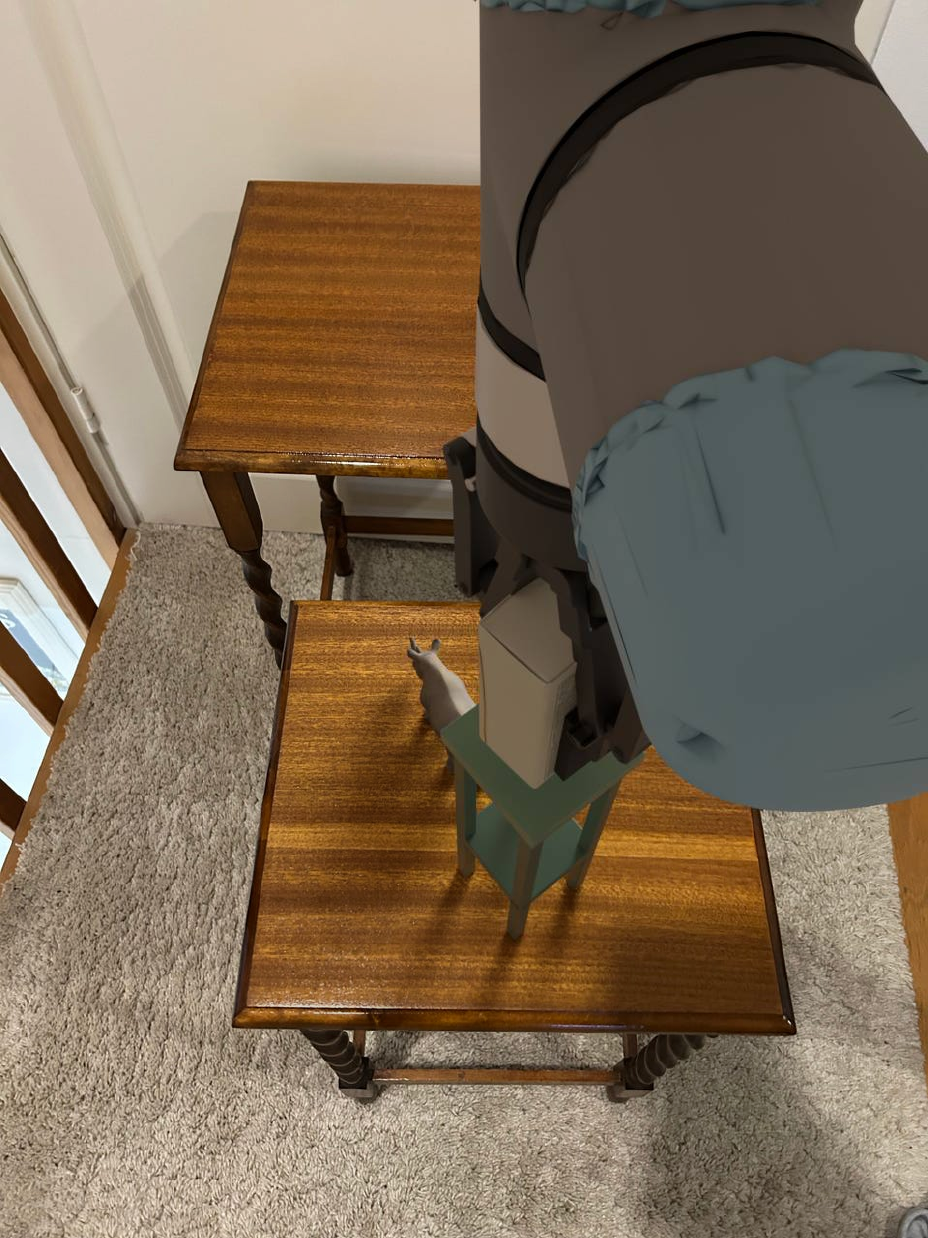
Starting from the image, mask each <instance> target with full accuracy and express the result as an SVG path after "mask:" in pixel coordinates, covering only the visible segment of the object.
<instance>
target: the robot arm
mask: <svg viewBox="0 0 928 1238" xmlns="http://www.w3.org/2000/svg"><path fill="white" fill-rule="evenodd" d="M473 1H474V3H477V0H473ZM478 1H479V2H478V5H479V7H478V8H479V9H478V11H479V13H478V14H479V15H478V17H479V143H480V144H479V160H480V161H479V162H480V163H479V166H480V168H479V169H480V170H479V173H480V174H479V179H480V181H479V182H480V185H479V187H480V188H479V189H480V191H479V192H480V246H479V247H480V253H479V254H480V255H479V256H480V265H479V278H478V279H479V281H478V293H477V294H478V295H477V301H476V328H475V329H476V331H475V367H474V401H475V406H476V409H477V412H476V417H475V418H476V419H475V420H476V422H475V423H476V424H475V426H473V427H471V428H469V429H467V430H466V431H464V432H463V433H461V434H459V435H458V436H457V437H455V438H453V439H452V440H450V441H448V442H447V443H445V444H443V445H442V449H441V451H442V455H443V459H444V462H445V467H446V470H447V473H448V476H449V480H450V483H451V488H452V517H453V545H454V549H453V550H454V577H455V578H454V579H455V584H456V588H457V589H458V591H459V593H461V594H462V595H463V596H464V597H465V598H466V599H471V598H473V597H474V596H475V597H476V598H477V599H478V601H479V603H480V607H479V611H478V614H479V615H478V616H479V617H480V620H481V619H482V618H484V616H486V615H487V614H488V613H489V612H490V611H491V610H492V609H493V608H495V607H496V606H497V605H498V604H499V603H500V602H501V601H502V600H504V599H505V598H506V597H507V596H508V595H509V594H511V596H512V595H514V594H515V593H517V592H518V591H519V590H521V589H522V588H524V587H525V586H527V585H528V584H529V583H531V582H532V581H534V580H535V579H537V578H538V577H540V578H542V579H543V580H544V581H545V582H547V583H548V584H549V585H550V588H551V590H552V591H553V592H554V593H555V594H556V596H557V606H558V615H559V624H560V630H561V631H562V632H563V633H564V634H565V635H566V636H568V637H569V638H570V639H571V641H572V651H573V659H574V661H575V662H577V668H576V673H575V682H576V693H577V703H578V707H577V708H576V709H574V710H573V711H572V712H570V713H569V714H568V715H566V716H565V718H564V723H563V728H562V733H561V738H560V743H559V748H558V753H557V758H556V763H555V767H554V772H555V773H556V774H557V775H558V776H559V777H560V779H561V780H562V781H563V782H564V781H565V780H567V779H568V778H569V777H570V776H572V775H573V774H574V773H576V772H577V771H578V770H580V769H581V768H582V767H583V766H585V765H586V764H587V763H589V762H590V761H591V760H592V762H593V763H594V762H598V761H599V760H600V759H601V758H603V757H604V756H605V755H607V754H608V753H609V752H612V754H613V755H614V757H615V758H616V759H617V760H618V761H619V762H620V763H623V764H625V765H627V764H628V763H629V762H631V761H632V760H633V759H634V758H636V757H637V756H638V755H640V754H641V753H642V752H645V751H646V750H648V749H649V748H650V747H651V746H653V748H654V749H655V751H656V753H657V755H658V756H659V757H660V758H661V760H662V761H663V762H664V763H665V765H666V766H668V767H669V769H671V770H672V771H673V772H674V773H675V774H676V775H677V776H678V777H679V778H680V779H682V780H683V781H685V782H686V783H687V784H689V785H691V786H693V787H695V788H696V789H697V790H699V791H702V792H703V793H704V794H705V793H706V794H708V795H709V796H711V797H713V798H717V799H719V800H722V801H725V802H728V803H731V804H736V805H740V806H744V807H749V808H752V809H757V810H762V811H772V812H783V813H784V812H787V813H820V812H834V811H846V810H853V809H861V808H862V809H863V808H869V807H874V806H881V805H886V804H892V803H898V802H903V801H907V800H910V799H912V798H915V797H916V796H919V795H921V794H924V793H926V792H928V150H927V149H926V147H925V146H924V144H923V143H922V142H921V140H920V138H919V137H918V136H917V135H916V132H915V131H914V130H913V128H912V127H911V126H910V124H909V123H908V121H907V119H906V118H905V117H904V115H903V113H902V112H901V111H900V109H899V108H898V106H897V105H896V104H895V102H894V101H893V100H892V98H891V97H890V95H889V94H888V92H887V91H886V89H885V87H884V86H883V84H882V83H881V80H880V79H879V77H878V76H877V74H876V72H875V71H874V69H873V67H872V66H871V64H870V62H869V61H868V60H867V58H866V57H865V55H864V53H862V51H861V50H860V48H859V47H858V46H857V44H856V31H855V28H856V27H855V25H856V19H857V16H858V14H859V12H860V9H861V8H862V5H863V3H864V1H865V0H478Z"/></svg>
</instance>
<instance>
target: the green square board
mask: <svg viewBox="0 0 928 1238" xmlns="http://www.w3.org/2000/svg"><path fill="white" fill-rule="evenodd" d="M440 735H441V739H440V741H441V742H442V743H443V744H444V746H445V745H446V747H447V748H448V749H449V750H450V751H451V753H452V754H453V755H454V756H455V757H456V759H457V760H458V761H459V762H460V763H461V765H462V766H463V767H464V768H465V769H466V771H467V772H468V773H469V774H470V775H471V777H472V778H473V779H474V780H475V781H476V783H477V785H478V786H479V787H480V789H481V790H482V791H483V792H484V794H485V795H486V796H487V797H488V799H489V800H490V801H491V803H492V802H493V803H494V804H495V806H496V807H497V808H498V809H499V810H500V812H501V813H502V814H503V815H504V816H505V818H506V819H507V820H508V821H509V822H510V824H511V825H512V826H513V827H514V828H515V830H516V831H517V832H518V833H519V834H520V836H521V837H522V838H523V839H524V840H525V842H526V843H527V844H528V845H529V846H530V848H531V849H534V848H535V847H536V846H538V845H539V844H540V843H541V842H543V841H544V840H545V839H546V838H548V837H549V836H550V835H551V834H553V833H554V832H555V831H556V830H558V829H559V828H560V827H562V826H563V825H564V824H565V823H567V822H568V821H569V820H570V819H572V818H573V819H574V817H576V816H577V815H578V814H579V813H580V812H582V811H583V810H584V809H586V808H587V807H588V806H590V804H591V803H592V802H593V801H594V800H596V799H597V798H598V797H599V796H601V795H602V794H603V793H604V792H606V791H607V790H608V789H609V788H611V787H612V786H613V785H615V784H616V783H617V782H618V781H620V780H621V779H622V778H623V779H624V778H625V777H626V776H627V775H629V774H630V773H631V772H632V771H634V769H636V768H637V767H639V766H640V765H642V763H643V761H644V760H645V757H646V752H645V751H644V752H642V753H641V754H640V755H638V756H637V757H636V758H634V759H633V760H632V761H631V762H629V763H628V764H627V765H625V764H623V763H620V762H619V761H618V760H617V759H616V758H615V757H614V755H613V754H612V752H609V753H608V754H607V755H605V756H604V757H603V758H601V759H600V760H599V761H598V762H594V763H593V762H592V760H591V761H590V762H589V763H587V764H586V765H585V766H583V767H582V768H581V769H580V770H578V771H577V772H576V773H574V774H573V775H572V776H570V777H569V778H568V779H567V780H565V781H564V782H563V781H562V780H561V779H560V777H559V776H558V775H557V774H556V773H554V774H553V775H552V776H551V777H549V778H548V779H547V780H546V781H545V782H544V783H543V784H542V785H540V786H539V787H538V788H536V789H533V788H531V787H530V786H529V785H528V784H527V783H526V782H525V781H524V780H523V779H522V778H521V777H520V776H519V775H518V774H516V773H515V772H514V771H513V770H512V769H511V768H510V767H509V766H508V765H507V764H506V763H505V762H504V761H503V760H502V759H501V758H500V757H499V756H498V755H497V754H496V753H495V752H494V751H493V750H492V749H491V748H490V747H489V746H488V745H487V744H486V743H485V742H484V741H483V740H482V739H481V738H480V735H479V703H478V704H476V706H475V707H473V708H472V709H470V710H469V711H468V712H466V713H465V714H463V715H462V716H461V717H459V718H458V719H456V720H455V721H453V722H452V723H451V724H449V725H448V726H446V727H445V728H444V729H442V730H441V731H440ZM623 779H622V780H623Z"/></svg>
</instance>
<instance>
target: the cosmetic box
mask: <svg viewBox="0 0 928 1238" xmlns="http://www.w3.org/2000/svg"><path fill="white" fill-rule="evenodd" d="M477 627H478V628H477V630H478V631H477V633H478V704H479V735H480V738H481V739H482V740H483V741H484V742H485V743H486V744H487V745H488V746H489V747H490V748H491V749H492V750H493V751H494V752H495V753H496V754H497V755H498V756H499V757H500V758H501V759H502V760H503V761H504V762H505V763H506V764H507V765H508V766H509V767H510V768H511V769H512V770H513V771H514V772H515V773H516V774H518V775H519V776H520V777H521V778H522V779H523V780H524V781H525V782H526V783H527V784H528V785H529V786H530V787H531V788H533V789H536V788H538V787H539V786H540V785H542V784H543V783H544V782H545V781H546V780H547V779H548V778H549V777H551V776H552V775H553V774H554V773H555V772H554V767H555V763H556V758H557V753H558V748H559V743H560V738H561V733H562V728H563V723H564V718H565V716H566V715H568V714H569V713H570V712H572V711H573V710H574V709H576V708H577V707H578V703H577V693H576V682H575V673H576V668H577V662H575V661H574V659H573V651H572V641H571V639H570V638H569V637H568V636H566V635H565V634H564V633H563V632H562V631H561V630H560V624H559V615H558V606H557V596H556V594H555V593H554V592H553V591H552V590H551V588H550V585H549V584H548V583H547V582H545V581H544V580H543V579H542V578H540V577H538V578H537V579H535V580H534V581H532V582H531V583H529V584H528V585H527V586H525V587H524V588H522V589H521V590H519V591H518V592H517V593H515V594H514V595H512V596H511V594H509V595H508V596H507V597H506V598H505V599H504V600H502V601H501V602H500V603H499V604H498V605H497V606H496V607H495V608H493V609H492V610H491V611H490V612H489V613H488V614H487V615H486V616H484V618H482V619H481V618H480V620H479V621H478V623H477Z"/></svg>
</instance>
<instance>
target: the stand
mask: <svg viewBox="0 0 928 1238" xmlns="http://www.w3.org/2000/svg"><path fill="white" fill-rule="evenodd" d="M453 774H454V797H455V798H454V801H455V823H456V825H455V826H456V829H455V830H456V852H457V869H458V871H460V873H461V874H462V875H463V876H464V878H467V877H468V876H470V875H471V874H472V873H474V872H475V871H476V860H477V861H478V862H479V864H480V865H481V867H483V870H485V871H486V873H487V874H488V875H489V876H490V877H491V879H492V880H493V882H495V884H496V885H497V886H498V887H499V889H500V890H501V892H503V894H504V895H505V896H506V897H507V899H508V900H509V907H508V915H507V922H506V929H505V930H506V932H507V934H509V935H510V937H511V938H512V940H513V941H515V940H517V939H518V938H519V937H520V936H522V935H523V934H524V933H525V930H526V927H527V926H526V925H527V921H528V916H529V911H530V907H531V904H532V903H533V902H535V900H536V899H538V898H539V897H541V896H542V894H544V893H546V892H547V890H549V889H550V888H551V887H553V886H554V885H555V884H557V882H559V881H560V880H561V879H562V878H564V877H565V876H566V875H567V876H566V879H565V882H566V883H567V884H568V886H569V887H570V888H571V889H572V891H576V890H577V889H579V888H580V887H581V886H582V885H583V884H584V881H585V878H586V876H587V873H588V871H589V868H590V867H591V863H592V860H593V858H594V855H595V852H596V850H597V847H598V844H599V842H600V839H601V837H602V835H603V834H602V833H603V831H604V829H605V827H606V823H607V821H608V818H609V816H610V813H611V810H612V808H613V805H614V802H615V800H616V797H617V795H618V791H619V789H620V786H621V784H622V781H623V779H624V777H623V778H622V779H621V780H620V781H618V782H617V783H616V784H615V785H613V786H612V787H611V788H609V789H608V790H607V791H606V792H604V793H603V794H602V795H601V796H599V797H598V798H597V799H596V800H594V801H593V802H592V803H591V804H589V807H588V809H587V810H588V811H587V814H586V817H585V820H584V822H583V826H582V827H581V826H580V824H579V823H578V822H577V821H576V819H574V817H573V818H572V819H570V820H569V821H568V822H567V823H565V824H564V825H563V826H562V827H560V828H559V829H558V830H556V831H555V832H554V833H553V834H551V835H550V836H549V837H548V838H546V839H545V840H544V841H543V842H541V843H540V844H539V845H538V846H536V847H535V848H534V849H531V848H530V846H529V845H528V844H527V843H526V842H525V840H524V839H523V838H522V837H521V836H520V834H519V833H518V832H517V831H516V830H515V828H514V827H513V826H512V825H511V824H510V822H509V821H508V820H507V819H506V818H505V816H504V815H503V814H502V813H501V812H500V810H499V809H498V808H497V807H496V806H495V804H494V803H493V802H492V801H491V803H490V804H488V805H486V806H485V807H484V808H483V809H482V810H480V811H479V812H477V800H478V799H477V797H478V796H477V794H478V793H477V792H478V786H477V785H478V784H477V783H476V781H475V780H474V779H473V778H472V777H471V775H470V774H469V773H468V772H467V771H466V769H465V768H464V767H463V766H462V765H461V763H460V762H459V761H458V760H457V759H456V757H455V756H454V773H453Z"/></svg>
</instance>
